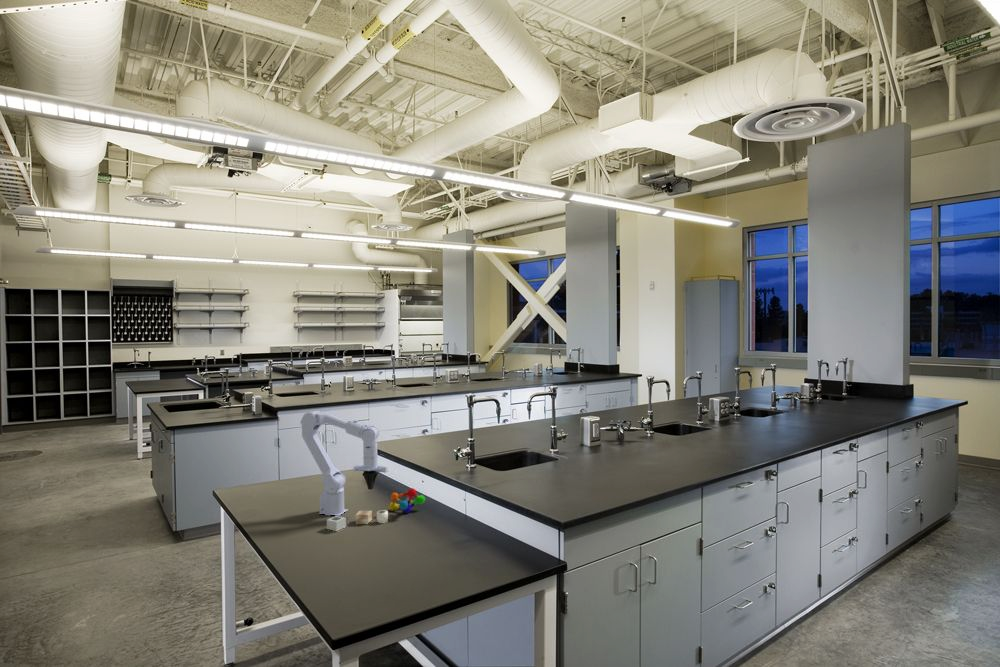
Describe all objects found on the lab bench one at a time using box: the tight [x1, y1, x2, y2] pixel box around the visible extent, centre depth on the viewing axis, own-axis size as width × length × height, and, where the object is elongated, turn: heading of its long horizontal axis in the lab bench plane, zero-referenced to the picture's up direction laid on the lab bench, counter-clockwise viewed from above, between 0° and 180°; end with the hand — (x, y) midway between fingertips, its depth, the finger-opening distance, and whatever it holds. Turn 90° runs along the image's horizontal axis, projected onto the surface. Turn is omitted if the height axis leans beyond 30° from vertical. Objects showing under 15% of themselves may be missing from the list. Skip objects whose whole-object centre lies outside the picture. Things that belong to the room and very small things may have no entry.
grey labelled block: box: [326, 516, 347, 532], centre depth 213 cm, size 5×5×4 cm
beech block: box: [355, 510, 373, 525], centre depth 220 cm, size 5×5×4 cm
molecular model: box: [388, 487, 426, 514], centre depth 233 cm, size 15×10×15 cm
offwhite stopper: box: [376, 509, 389, 524], centre depth 220 cm, size 4×4×4 cm
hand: (370, 488), depth 230 cm, fingers closed
